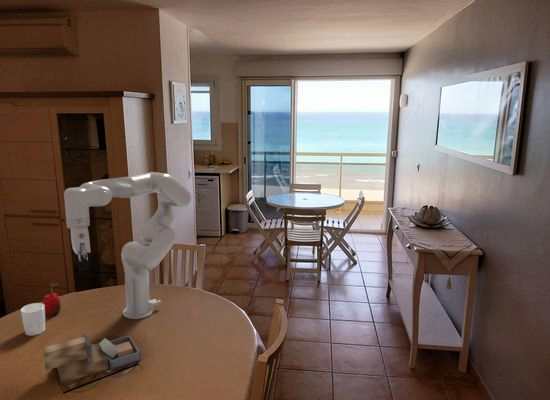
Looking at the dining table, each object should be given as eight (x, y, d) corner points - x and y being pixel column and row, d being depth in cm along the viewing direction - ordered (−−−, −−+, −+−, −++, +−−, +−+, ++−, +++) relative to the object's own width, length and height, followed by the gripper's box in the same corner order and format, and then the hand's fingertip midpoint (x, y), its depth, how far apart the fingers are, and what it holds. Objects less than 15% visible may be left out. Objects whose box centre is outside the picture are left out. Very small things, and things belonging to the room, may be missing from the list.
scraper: (87, 347, 138) (86, 332, 137) (92, 361, 131) (91, 344, 130) (43, 360, 131) (42, 343, 130) (46, 374, 124) (45, 357, 122)
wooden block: (100, 352, 143) (100, 342, 142) (108, 368, 134) (107, 358, 133) (56, 365, 135) (55, 355, 134) (61, 383, 126) (60, 372, 125)
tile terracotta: (114, 345, 142) (114, 351, 142) (117, 352, 138) (118, 358, 138) (128, 341, 145) (129, 347, 145) (132, 348, 141) (132, 354, 141)
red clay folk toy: (54, 308, 173) (51, 276, 170) (65, 312, 170) (62, 279, 167) (37, 315, 167) (34, 282, 164) (48, 319, 164) (45, 285, 161)
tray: (130, 342, 149) (129, 335, 149) (140, 360, 139) (140, 352, 138) (101, 350, 144) (101, 343, 143) (110, 369, 133) (110, 361, 133)
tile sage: (109, 350, 141) (114, 345, 142) (112, 358, 137) (118, 352, 138) (99, 343, 138) (104, 337, 139) (102, 350, 134) (108, 344, 135)
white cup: (36, 338, 151) (33, 313, 148) (18, 335, 152) (15, 311, 150) (51, 327, 158) (49, 304, 156) (34, 324, 160) (32, 301, 157)
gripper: (94, 226, 139) (97, 272, 142) (84, 215, 153) (87, 257, 156) (70, 229, 134) (74, 276, 138) (62, 217, 148) (66, 261, 152)
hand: (81, 266), depth 147 cm, fingers open, 9 cm apart
